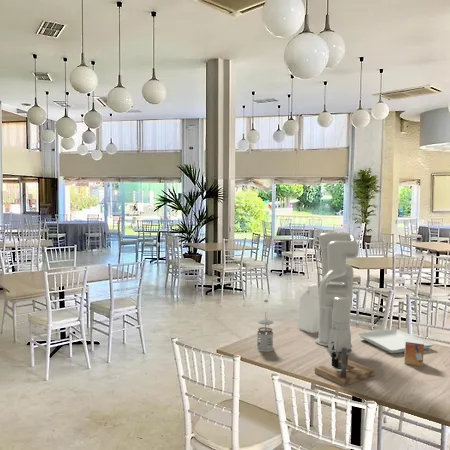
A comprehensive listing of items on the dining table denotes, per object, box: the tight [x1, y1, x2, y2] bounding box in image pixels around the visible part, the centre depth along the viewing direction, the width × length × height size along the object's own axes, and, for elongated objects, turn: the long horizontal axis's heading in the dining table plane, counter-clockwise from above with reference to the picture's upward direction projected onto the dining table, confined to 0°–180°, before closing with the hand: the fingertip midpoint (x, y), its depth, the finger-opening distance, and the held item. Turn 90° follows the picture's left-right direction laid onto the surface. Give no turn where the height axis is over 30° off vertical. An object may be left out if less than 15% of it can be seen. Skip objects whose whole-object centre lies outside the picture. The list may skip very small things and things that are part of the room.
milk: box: [296, 283, 319, 334], centre depth 259 cm, size 12×12×26 cm
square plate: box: [357, 329, 434, 354], centre depth 235 cm, size 27×27×4 cm
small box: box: [403, 339, 425, 367], centre depth 208 cm, size 8×6×10 cm
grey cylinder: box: [334, 351, 342, 370], centre depth 196 cm, size 5×5×7 cm
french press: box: [255, 299, 275, 352], centre depth 226 cm, size 10×12×25 cm
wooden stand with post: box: [314, 348, 376, 387], centre depth 194 cm, size 20×16×14 cm
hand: (339, 364), depth 196 cm, fingers closed on grey cylinder, 5 cm apart
